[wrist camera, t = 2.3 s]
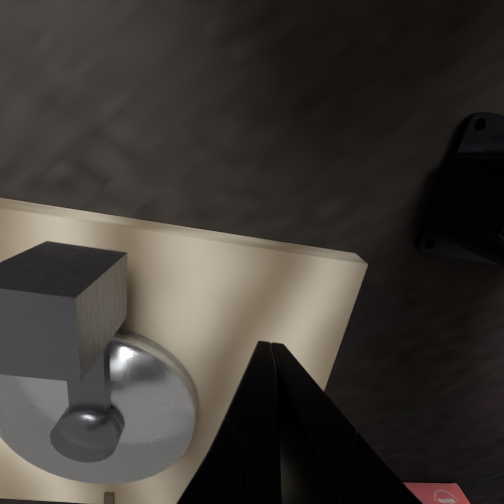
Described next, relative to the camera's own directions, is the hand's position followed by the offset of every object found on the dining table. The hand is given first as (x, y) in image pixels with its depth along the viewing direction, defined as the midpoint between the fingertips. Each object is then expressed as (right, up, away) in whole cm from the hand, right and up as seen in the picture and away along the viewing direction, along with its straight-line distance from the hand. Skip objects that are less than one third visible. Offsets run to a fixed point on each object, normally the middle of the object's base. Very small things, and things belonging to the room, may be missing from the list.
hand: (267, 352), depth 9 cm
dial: (-8, -3, +5) cm, 10 cm away
